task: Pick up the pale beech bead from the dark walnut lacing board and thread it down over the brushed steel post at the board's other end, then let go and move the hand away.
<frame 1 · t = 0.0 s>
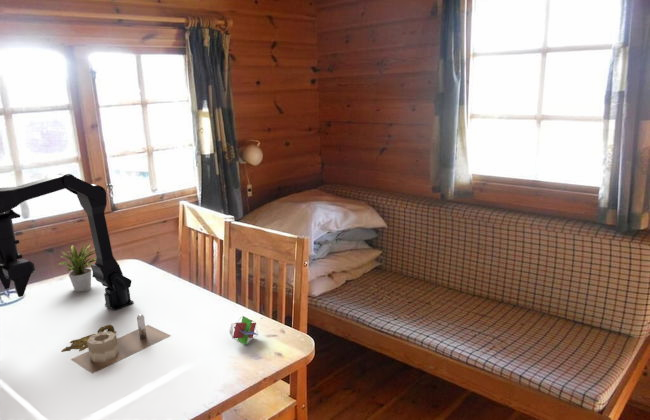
hand: (13, 292, 133), 15 cm above the table, tool pointing down, fingers open, 9 cm apart
beech bead: (104, 355, 126), point 1 cm above the table, touching lacing board
lacing board: (123, 351, 130), on the table
geometric puzzle: (245, 341, 133), on the table
steel post: (143, 341, 135), resting on lacing board
olive gold carved ornament: (89, 347, 134), on the table
house plant: (82, 290, 171), on the table
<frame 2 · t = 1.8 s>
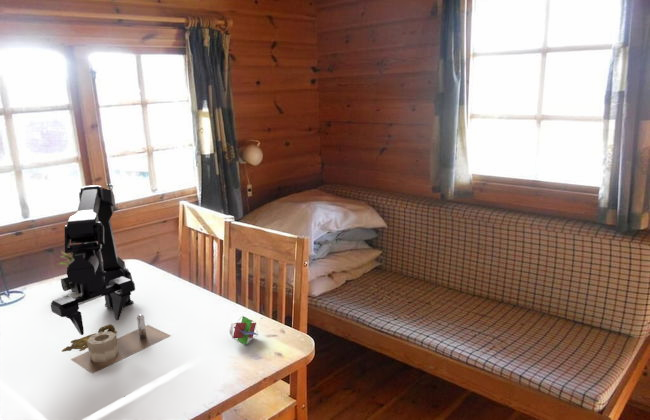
hand: (99, 326, 124), 9 cm above the table, tool pointing down, fingers open, 9 cm apart
nothing on the table moved.
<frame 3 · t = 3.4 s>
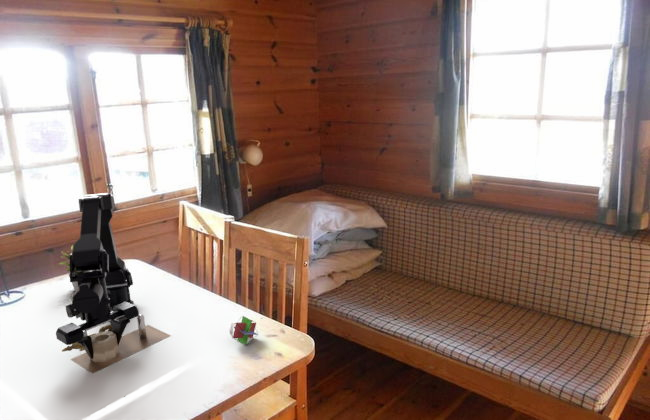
hand: (104, 352, 126), 2 cm above the table, tool pointing down, fingers closed on beech bead, 6 cm apart
beech bead: (104, 355, 126), point 1 cm above the table, touching gripper, lacing board
everything else where it was.
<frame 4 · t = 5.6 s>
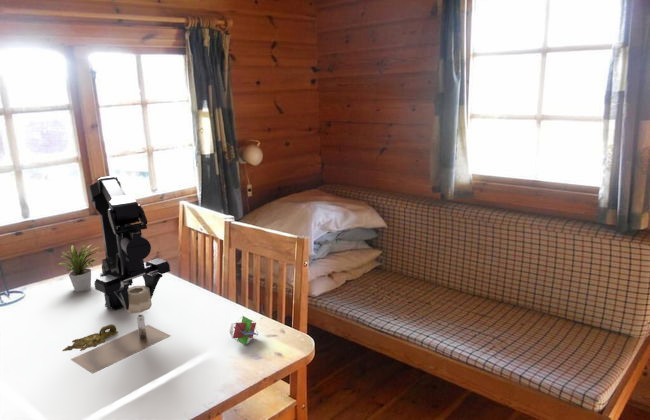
hand: (138, 304, 132), 11 cm above the table, tool pointing down, fingers closed on beech bead, 6 cm apart
beech bead: (138, 307, 132), point 10 cm above the table, touching gripper
everything else where it was.
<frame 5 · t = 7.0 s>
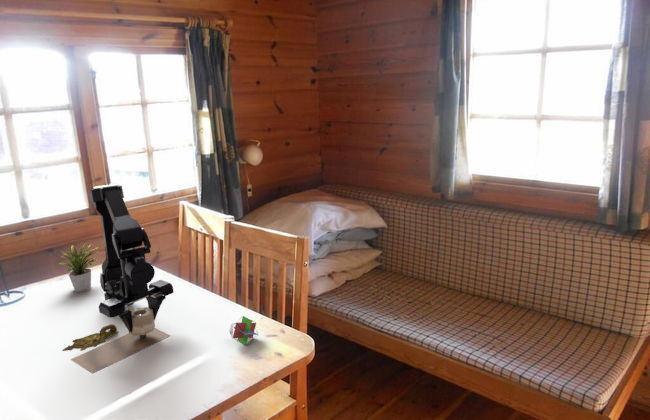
hand: (141, 326, 134), 4 cm above the table, tool pointing down, fingers closed on beech bead, 6 cm apart
beech bead: (142, 329, 134), point 4 cm above the table, touching gripper
everything else where it was.
when the fingers open (4 cm above the table, at t = 8.0 s): beech bead drops 2 cm, resting on lacing board.
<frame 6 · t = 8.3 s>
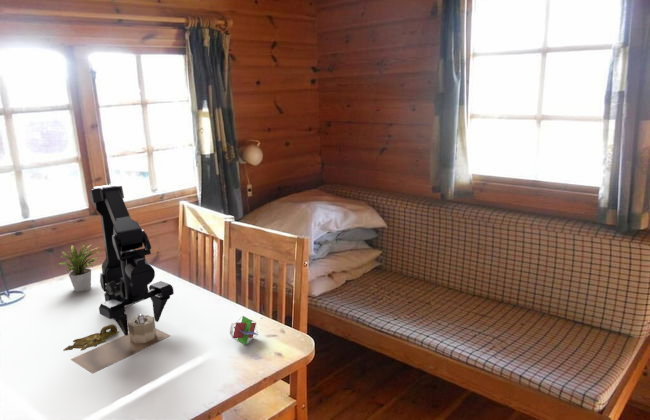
hand: (141, 328, 134), 4 cm above the table, tool pointing down, fingers open, 9 cm apart
beech bead: (143, 337, 134), point 1 cm above the table, touching lacing board
everything else where it was.
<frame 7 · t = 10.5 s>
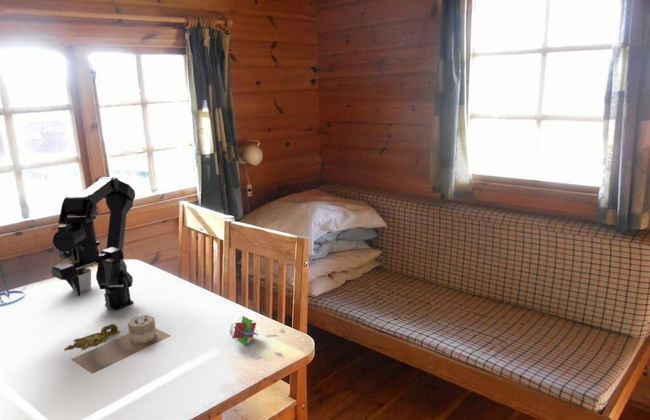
hand: (94, 290, 143), 11 cm above the table, tool pointing down, fingers open, 9 cm apart
nothing on the table moved.
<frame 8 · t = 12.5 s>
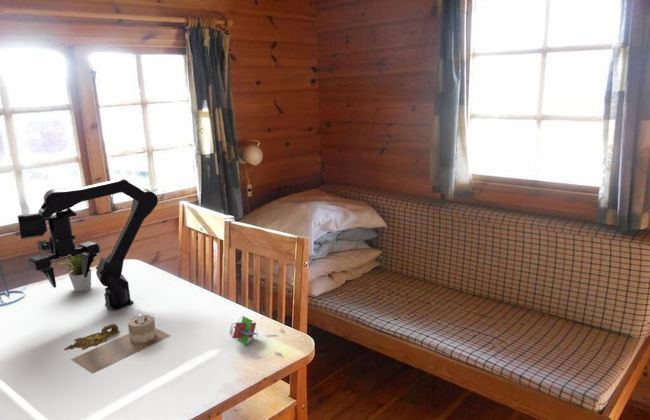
hand: (70, 282, 149), 11 cm above the table, tool pointing down, fingers open, 9 cm apart
nothing on the table moved.
at the end: beech bead 0.0 cm from the target spot on the lacing board, point 1.2 cm above the lacing board's base; beech bead tilted 0°; the gripper is holding nothing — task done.
